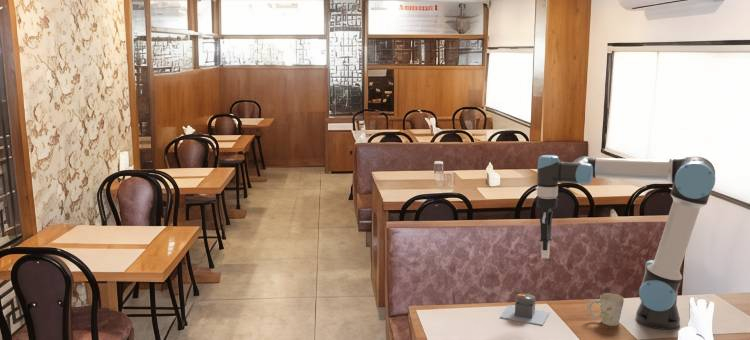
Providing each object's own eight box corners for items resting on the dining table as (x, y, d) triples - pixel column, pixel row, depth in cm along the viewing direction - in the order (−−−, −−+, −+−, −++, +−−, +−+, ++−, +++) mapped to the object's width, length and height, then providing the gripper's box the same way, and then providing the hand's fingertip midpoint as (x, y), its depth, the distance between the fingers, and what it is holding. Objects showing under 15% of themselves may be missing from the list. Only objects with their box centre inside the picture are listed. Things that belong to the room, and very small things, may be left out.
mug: (623, 328, 241) (625, 302, 239) (587, 325, 243) (589, 299, 241) (620, 319, 249) (622, 294, 247) (585, 316, 251) (587, 291, 249)
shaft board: (549, 313, 254) (550, 300, 253) (542, 325, 242) (543, 312, 241) (508, 305, 261) (508, 293, 260) (499, 317, 249) (500, 305, 248)
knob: (535, 312, 253) (537, 294, 252) (532, 319, 247) (533, 300, 245) (517, 309, 256) (518, 291, 255) (513, 316, 250) (514, 297, 248)
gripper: (540, 192, 253) (538, 251, 257) (533, 199, 242) (531, 261, 246) (560, 194, 250) (558, 253, 254) (554, 201, 238) (552, 263, 243)
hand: (545, 257), depth 250 cm, fingers closed
